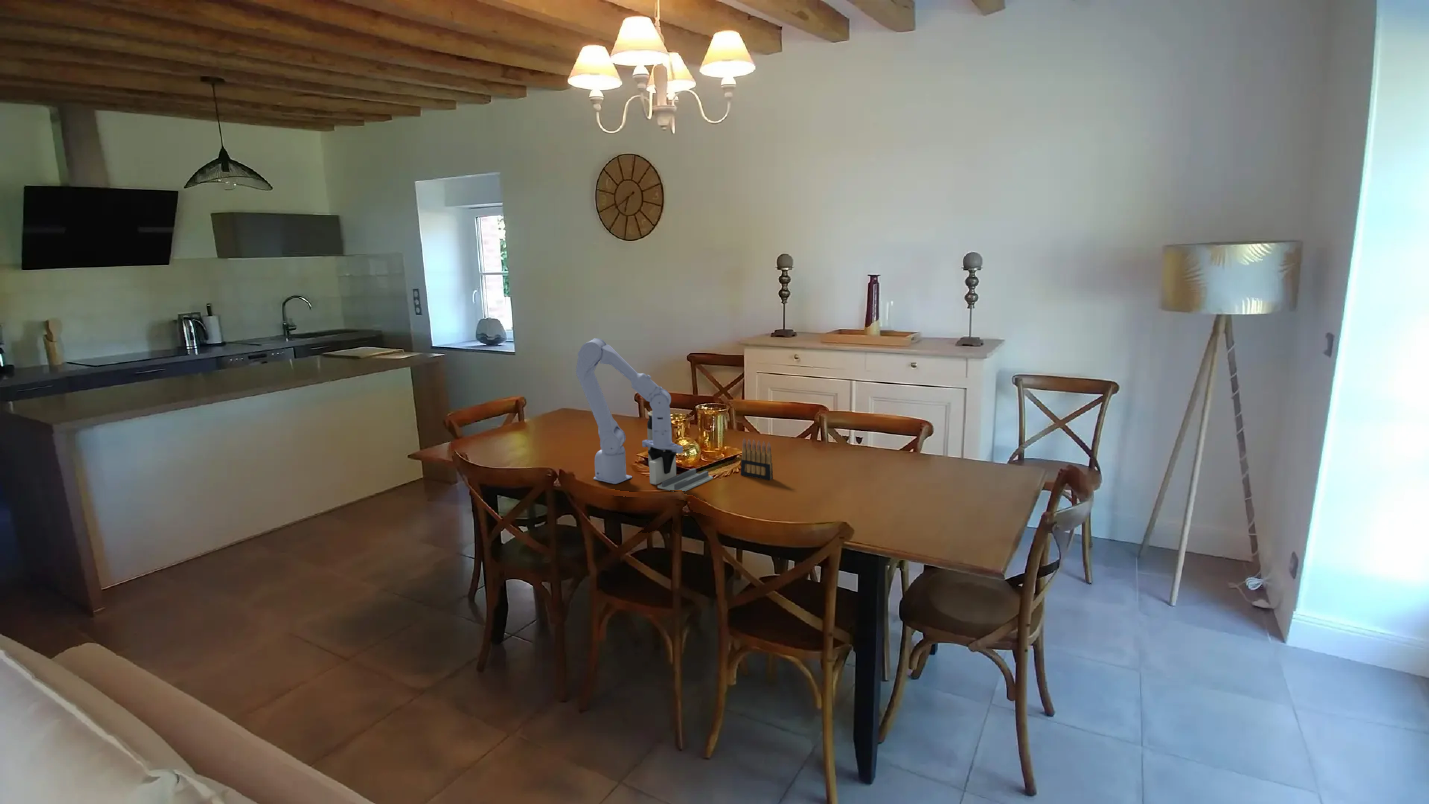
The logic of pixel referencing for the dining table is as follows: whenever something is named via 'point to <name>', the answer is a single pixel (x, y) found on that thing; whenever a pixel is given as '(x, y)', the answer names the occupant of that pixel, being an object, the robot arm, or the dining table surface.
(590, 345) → the robot arm
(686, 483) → the track
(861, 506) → the dining table surface
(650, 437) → the travel mug
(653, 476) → the door panel
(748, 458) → the ammunition clip
